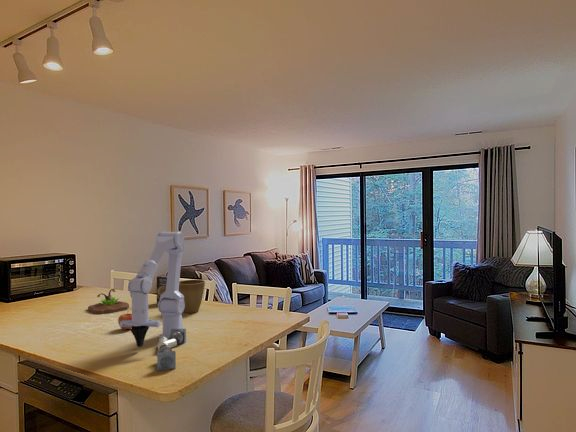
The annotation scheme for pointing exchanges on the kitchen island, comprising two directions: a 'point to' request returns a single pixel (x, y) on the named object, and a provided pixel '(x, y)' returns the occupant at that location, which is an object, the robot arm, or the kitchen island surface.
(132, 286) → the robot arm
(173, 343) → the pipe fitting
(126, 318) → the apple
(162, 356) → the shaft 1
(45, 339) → the kitchen island surface
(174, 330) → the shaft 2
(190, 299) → the plant pot
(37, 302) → the kitchen island surface
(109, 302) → the plant
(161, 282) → the coffee box
